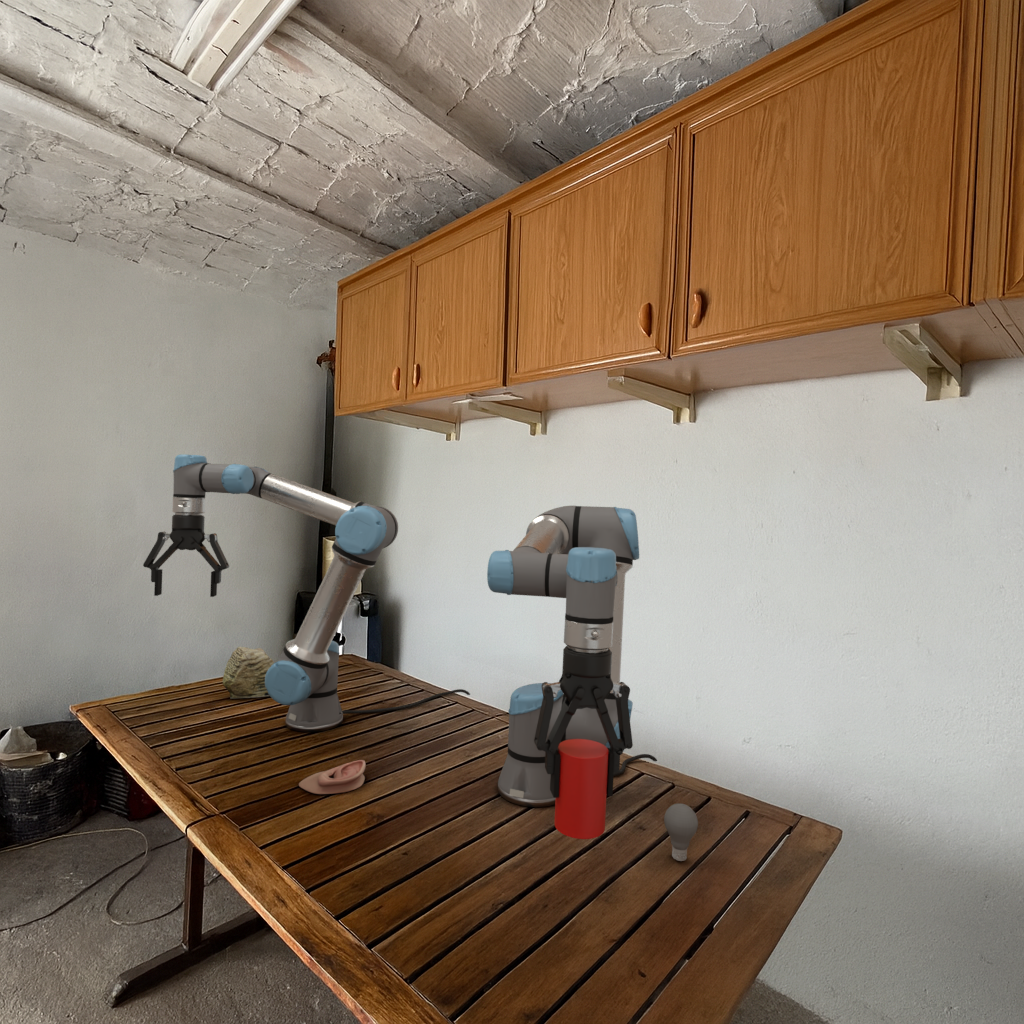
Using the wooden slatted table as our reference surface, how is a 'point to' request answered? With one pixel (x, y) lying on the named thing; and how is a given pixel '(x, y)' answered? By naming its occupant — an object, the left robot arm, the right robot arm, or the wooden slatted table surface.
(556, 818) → the tin
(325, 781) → the anatomical model
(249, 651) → the fossil
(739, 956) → the wooden slatted table surface
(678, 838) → the light bulb
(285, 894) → the wooden slatted table surface
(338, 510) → the left robot arm
